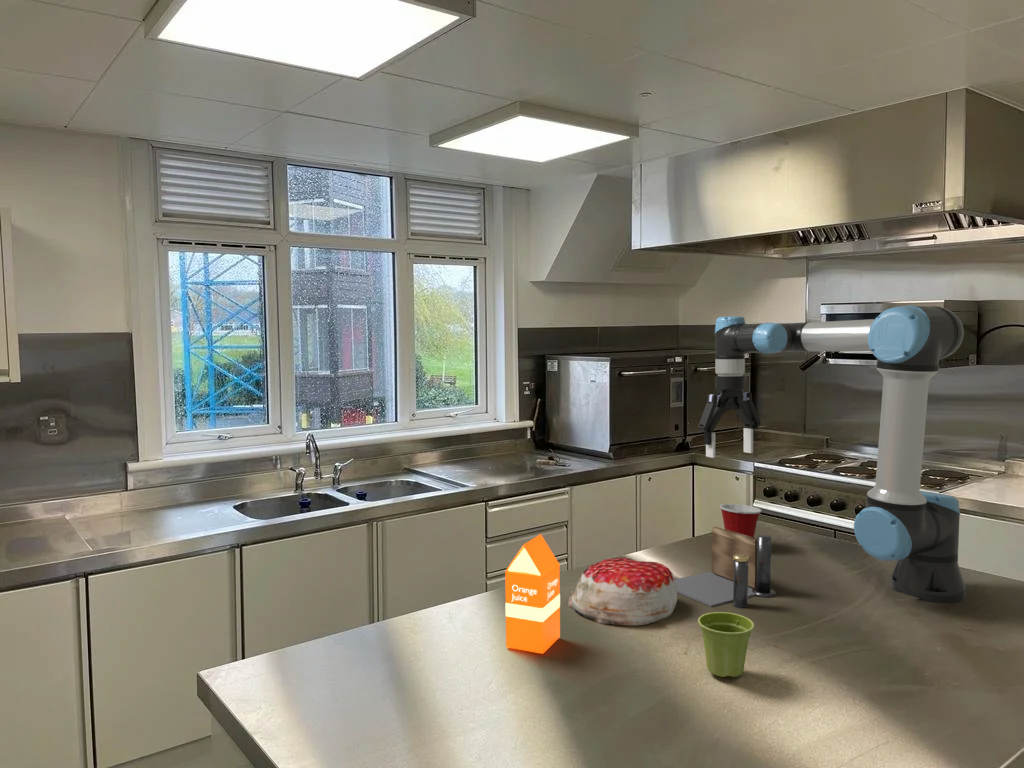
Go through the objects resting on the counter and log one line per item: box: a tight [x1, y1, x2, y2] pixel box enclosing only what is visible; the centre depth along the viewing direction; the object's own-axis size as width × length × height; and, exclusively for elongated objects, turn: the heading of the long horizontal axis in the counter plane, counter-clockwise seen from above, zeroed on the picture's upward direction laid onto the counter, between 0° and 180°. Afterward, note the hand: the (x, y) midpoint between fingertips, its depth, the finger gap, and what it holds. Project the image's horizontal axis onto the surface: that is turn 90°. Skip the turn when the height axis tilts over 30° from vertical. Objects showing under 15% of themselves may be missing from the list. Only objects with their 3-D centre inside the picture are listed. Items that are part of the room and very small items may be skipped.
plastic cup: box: [719, 503, 763, 538], centre depth 207 cm, size 11×11×12 cm
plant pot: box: [697, 611, 755, 678], centre depth 134 cm, size 9×9×9 cm
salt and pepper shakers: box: [732, 534, 776, 609], centre depth 170 cm, size 7×14×13 cm, turn 120°
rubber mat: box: [674, 570, 757, 608], centre depth 177 cm, size 17×17×1 cm
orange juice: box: [504, 533, 561, 654], centre depth 147 cm, size 8×9×20 cm
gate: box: [711, 526, 757, 588], centre depth 180 cm, size 14×1×11 cm, turn 30°
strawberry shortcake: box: [567, 557, 678, 627], centre depth 168 cm, size 23×24×10 cm
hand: (729, 454), depth 206 cm, fingers open, 13 cm apart
